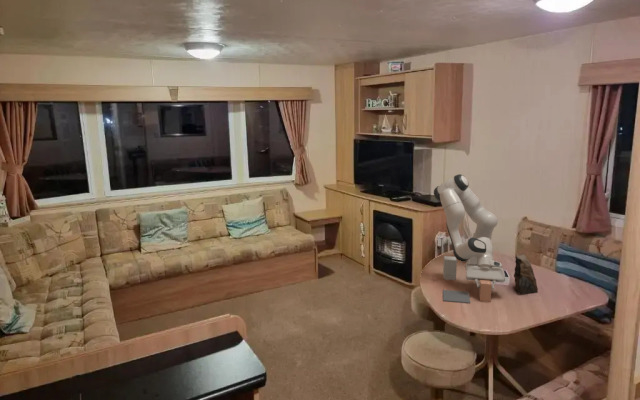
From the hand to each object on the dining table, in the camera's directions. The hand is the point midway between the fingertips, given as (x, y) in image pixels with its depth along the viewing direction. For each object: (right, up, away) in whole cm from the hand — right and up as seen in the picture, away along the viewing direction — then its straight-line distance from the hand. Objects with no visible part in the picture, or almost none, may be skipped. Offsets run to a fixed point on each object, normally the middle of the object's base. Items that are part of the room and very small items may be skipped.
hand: (485, 288), depth 236 cm
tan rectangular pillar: (0, -6, +1) cm, 6 cm away
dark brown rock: (+26, -4, +10) cm, 29 cm away
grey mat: (-14, -6, +5) cm, 16 cm away
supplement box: (-10, 0, +32) cm, 34 cm away
